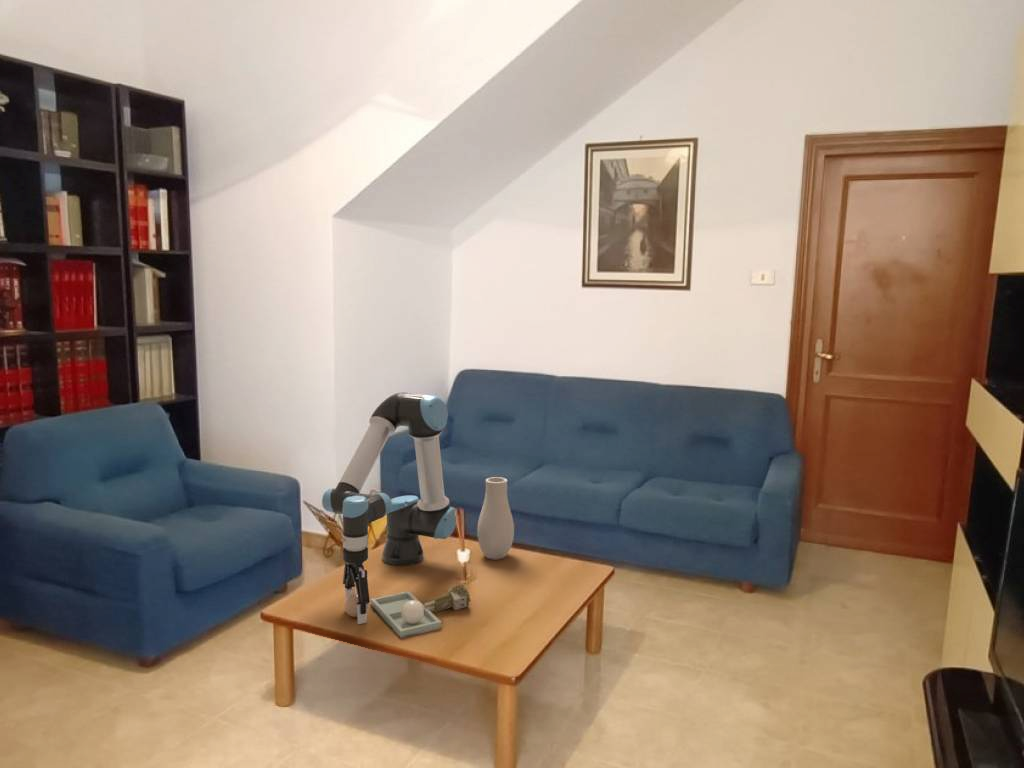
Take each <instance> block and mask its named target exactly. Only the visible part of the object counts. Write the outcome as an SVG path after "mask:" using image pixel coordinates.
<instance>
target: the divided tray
mask: <svg viewBox="0 0 1024 768" xmlns="http://www.w3.org/2000/svg"><path fill="white" fill-rule="evenodd" d="M409 600H417V601H419V602H420V603H421V604H422V605H423V607H424V615H423V618H422V619H421V620H420V621H419V622H418V623H415V624H409V623H407V622H405V621H404V620H403V618H402V616H401V609H402V606H403V605H404V603H406V602H407V601H409ZM370 606H371V608H372V609H373V610H374V611H375V612H376V613H377V614H378V616H380V618H382V619H383V621H384V622H385V623H386V624H387V625H388V626H389V627H390V628H391V629H392V631H393V632H394V633H395V634H396V635H397V636H398V637H399V638H400V639H404V638H409V637H412V636H417V635H419V634H425V633H429V632H432V631H437V630H441V629H442V621H441V620H440V619H439V618H438V617H437V616H436V615H435V614H434V613H432V611H429V610H428V609H427V608H428V607H426V608H425V605H424V604H423V603H422V602H421V601H420V600H419V599H418V598H416V596H415V595H413V594H412V593H411V591H402V592H397V593H393V594H388V595H384V596H380V597H374V598H371V599H370Z"/></svg>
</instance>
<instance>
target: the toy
mask: <svg viewBox="0 0 1024 768" xmlns="http://www.w3.org/2000/svg"><path fill="white" fill-rule="evenodd" d="M470 596H471V594H470V591H468V589H467V588H466V587H465V585H464V584H462V583H461V584H458V585H456V586H452V588H449V589H448V592H447V593H445V594H442V595H440V596H436V597H435V598H434V599H433V600H431V601H428V602H425V603H424V604H423V605H424V606H425V608H427V609H428V610H429V611H430V612H433V611H435V612H439V611H444V610H446V609H449V608H450V607H452V609H453V611H457V610H460V609H464V608H467V607H469V606H470V602H471V597H470Z"/></svg>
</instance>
